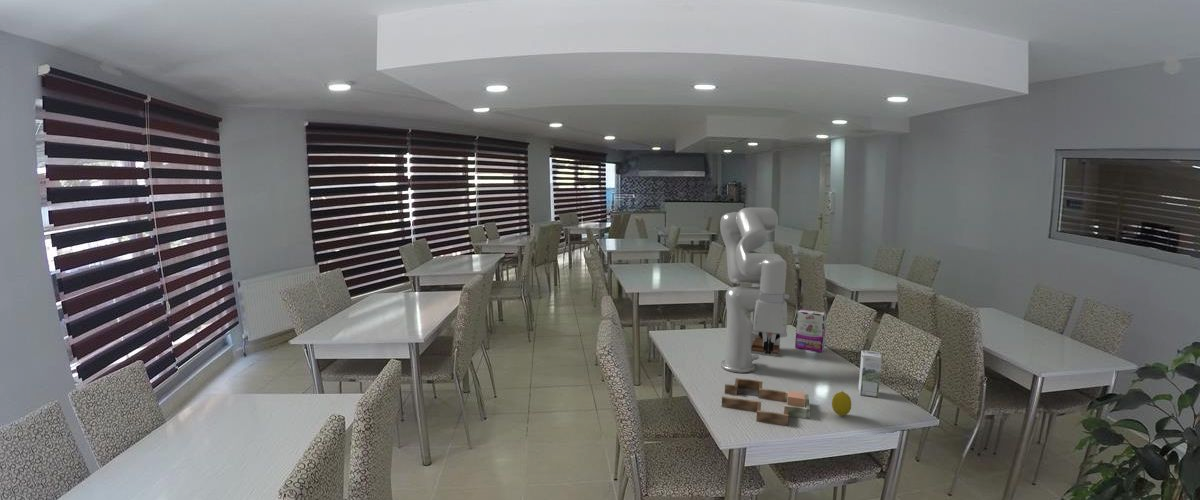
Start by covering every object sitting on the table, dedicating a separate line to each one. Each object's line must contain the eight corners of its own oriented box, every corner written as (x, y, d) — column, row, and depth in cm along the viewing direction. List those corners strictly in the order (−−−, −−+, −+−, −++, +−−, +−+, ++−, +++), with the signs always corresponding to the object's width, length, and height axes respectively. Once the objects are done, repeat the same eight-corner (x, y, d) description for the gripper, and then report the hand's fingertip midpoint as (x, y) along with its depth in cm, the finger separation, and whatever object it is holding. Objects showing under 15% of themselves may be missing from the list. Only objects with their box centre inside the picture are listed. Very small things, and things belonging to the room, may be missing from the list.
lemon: (827, 412, 173) (829, 388, 172) (844, 412, 174) (846, 387, 173) (836, 420, 168) (838, 395, 167) (853, 419, 168) (856, 395, 167)
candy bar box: (824, 350, 234) (827, 312, 232) (822, 353, 230) (824, 315, 228) (797, 345, 240) (799, 308, 238) (794, 348, 236) (796, 311, 234)
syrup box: (875, 391, 190) (879, 351, 188) (878, 398, 185) (882, 356, 183) (857, 389, 192) (861, 349, 190) (859, 395, 187) (863, 354, 185)
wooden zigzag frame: (719, 415, 170) (719, 406, 170) (726, 384, 195) (727, 376, 194) (810, 428, 162) (811, 419, 162) (806, 395, 187) (807, 386, 186)
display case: (748, 353, 229) (752, 270, 224) (751, 345, 239) (756, 266, 234) (777, 357, 225) (782, 272, 220) (779, 349, 234) (784, 268, 229)
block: (786, 411, 174) (787, 396, 173) (786, 405, 178) (787, 390, 178) (803, 414, 172) (804, 399, 172) (803, 407, 177) (804, 393, 176)
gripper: (796, 296, 175) (792, 351, 178) (747, 292, 179) (744, 346, 182) (797, 302, 168) (792, 359, 171) (746, 298, 172) (743, 353, 175)
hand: (768, 352), depth 176 cm, fingers closed
